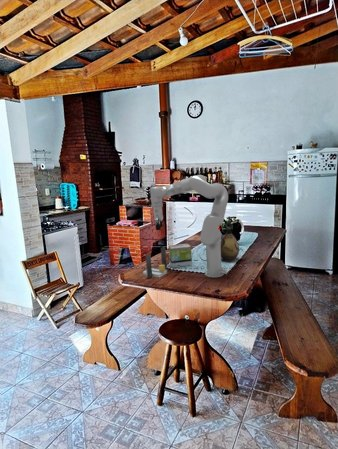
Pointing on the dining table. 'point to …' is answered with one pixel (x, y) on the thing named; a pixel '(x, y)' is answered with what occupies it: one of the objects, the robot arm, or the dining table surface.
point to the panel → (156, 272)
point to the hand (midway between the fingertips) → (159, 228)
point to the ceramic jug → (229, 245)
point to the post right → (163, 257)
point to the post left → (149, 266)
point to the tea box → (180, 255)
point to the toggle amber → (161, 268)
